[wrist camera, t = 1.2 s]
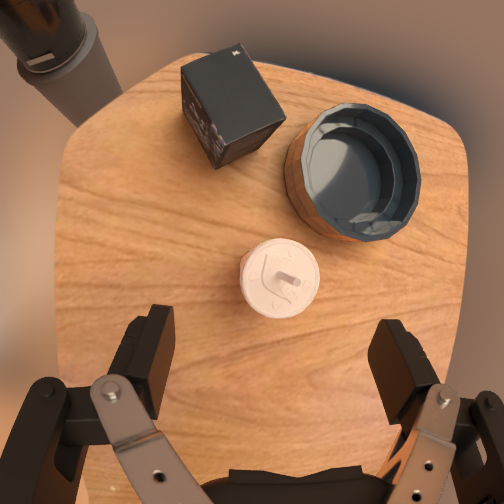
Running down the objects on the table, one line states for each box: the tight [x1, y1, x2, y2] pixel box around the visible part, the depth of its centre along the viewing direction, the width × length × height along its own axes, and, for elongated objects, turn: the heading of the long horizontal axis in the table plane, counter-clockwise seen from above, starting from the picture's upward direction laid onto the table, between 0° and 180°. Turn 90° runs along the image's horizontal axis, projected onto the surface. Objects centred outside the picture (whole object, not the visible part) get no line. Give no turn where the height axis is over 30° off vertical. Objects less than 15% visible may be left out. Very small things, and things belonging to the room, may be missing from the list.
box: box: [181, 43, 287, 170], centre depth 27 cm, size 8×6×11 cm
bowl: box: [284, 103, 421, 242], centre depth 32 cm, size 14×14×6 cm
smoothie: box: [240, 238, 320, 319], centre depth 27 cm, size 6×6×14 cm
